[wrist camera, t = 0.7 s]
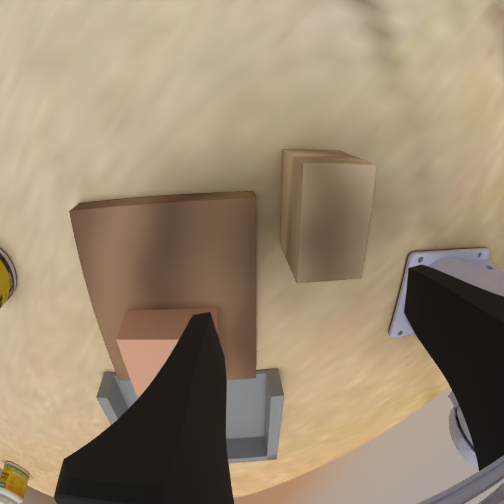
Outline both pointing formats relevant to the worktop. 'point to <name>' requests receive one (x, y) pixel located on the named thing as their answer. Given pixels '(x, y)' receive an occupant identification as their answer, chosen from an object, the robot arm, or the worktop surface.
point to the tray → (237, 412)
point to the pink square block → (153, 340)
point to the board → (173, 265)
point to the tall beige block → (325, 213)
